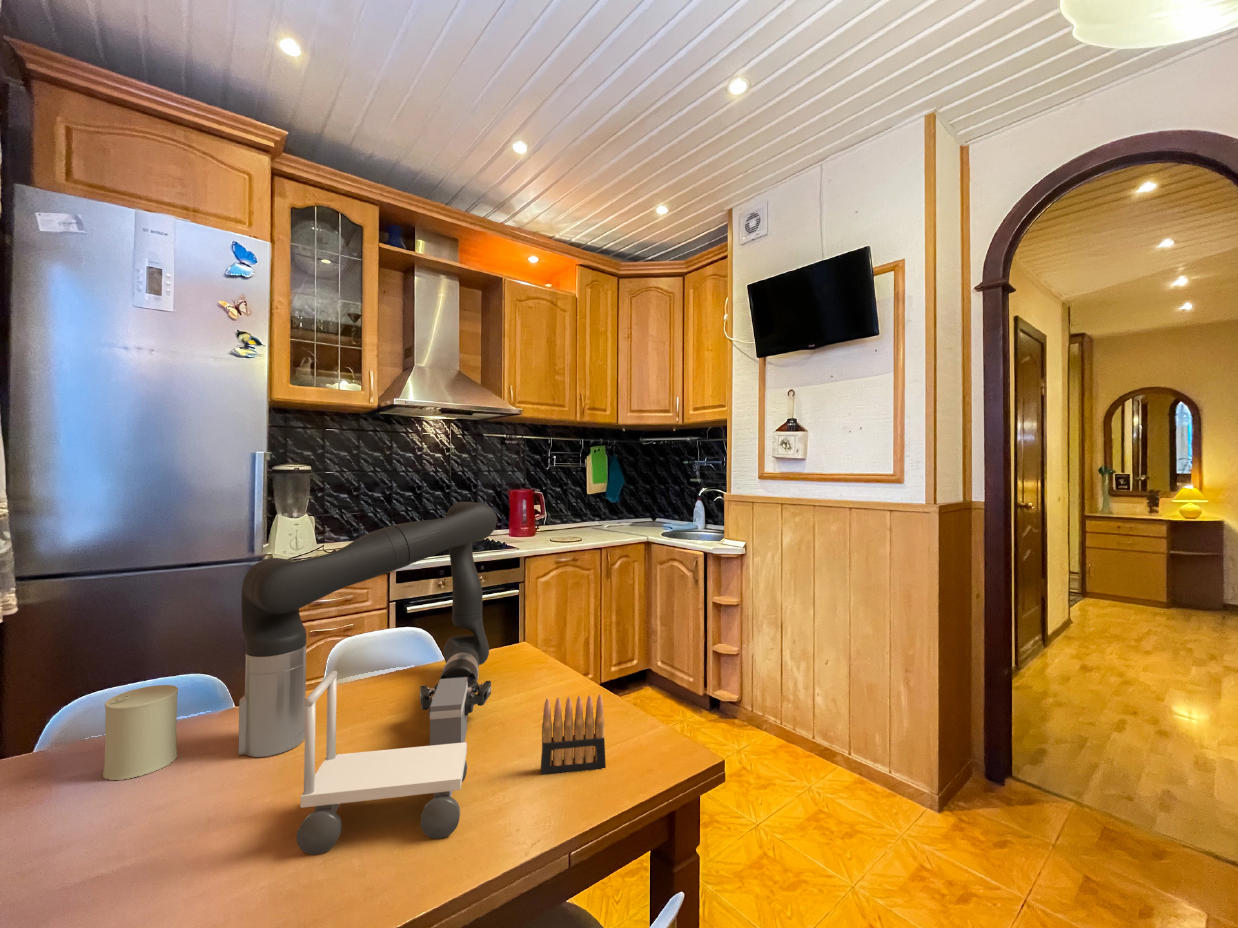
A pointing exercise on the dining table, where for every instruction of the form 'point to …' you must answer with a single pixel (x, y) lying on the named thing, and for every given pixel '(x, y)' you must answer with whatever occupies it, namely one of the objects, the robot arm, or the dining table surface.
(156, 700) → the can
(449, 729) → the grey lidded box
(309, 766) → the trolley
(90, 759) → the dining table surface
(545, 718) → the ammunition clip
